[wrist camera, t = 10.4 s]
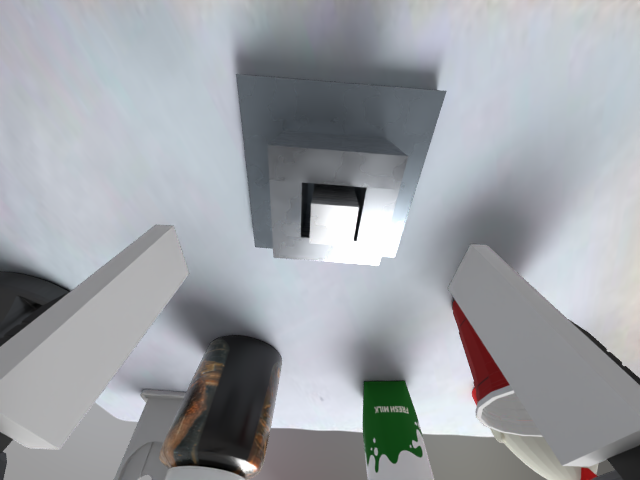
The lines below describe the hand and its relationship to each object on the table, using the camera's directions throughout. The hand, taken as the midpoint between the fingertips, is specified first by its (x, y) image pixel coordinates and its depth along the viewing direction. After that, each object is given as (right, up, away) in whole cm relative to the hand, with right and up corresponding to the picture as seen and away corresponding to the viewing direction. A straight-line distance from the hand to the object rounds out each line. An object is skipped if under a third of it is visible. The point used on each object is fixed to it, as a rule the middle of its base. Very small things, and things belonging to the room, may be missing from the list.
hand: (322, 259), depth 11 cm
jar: (-12, -18, +26) cm, 34 cm away
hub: (+1, +6, +8) cm, 10 cm away
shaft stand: (+1, +6, +10) cm, 12 cm away
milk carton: (+11, -26, +31) cm, 42 cm away
